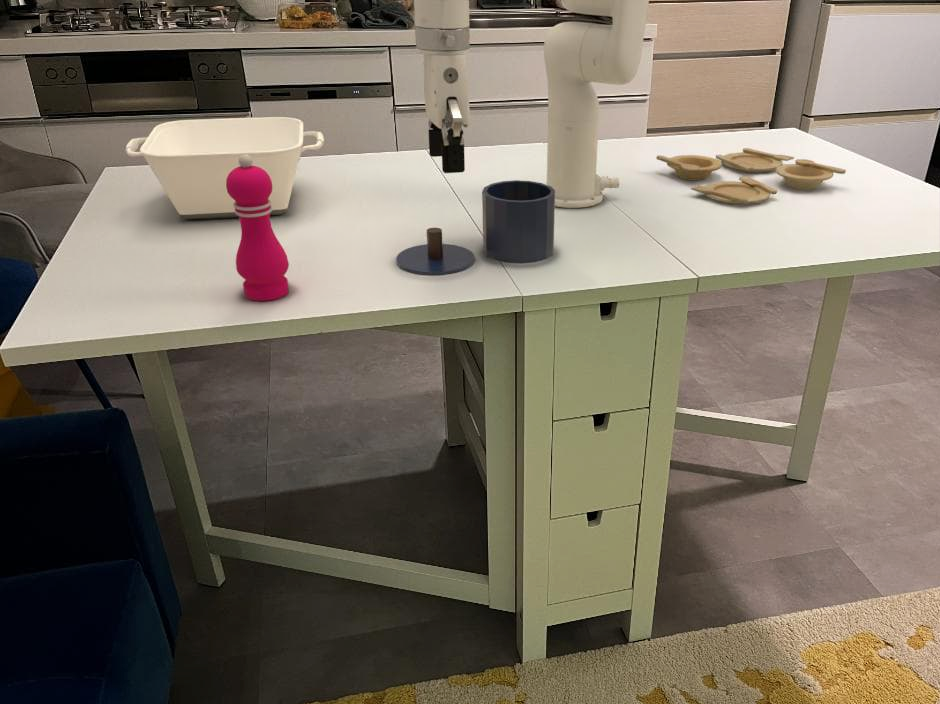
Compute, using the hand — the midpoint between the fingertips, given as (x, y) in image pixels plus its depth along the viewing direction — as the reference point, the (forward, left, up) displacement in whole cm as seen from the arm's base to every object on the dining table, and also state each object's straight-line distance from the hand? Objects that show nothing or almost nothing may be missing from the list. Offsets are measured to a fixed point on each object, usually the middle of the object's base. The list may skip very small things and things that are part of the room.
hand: (446, 163), depth 125 cm
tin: (-12, -1, -16) cm, 20 cm away
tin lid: (+2, 0, -15) cm, 15 cm away
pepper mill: (+28, +5, -16) cm, 33 cm away
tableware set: (-70, -30, -16) cm, 78 cm away
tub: (+32, -39, -16) cm, 53 cm away
